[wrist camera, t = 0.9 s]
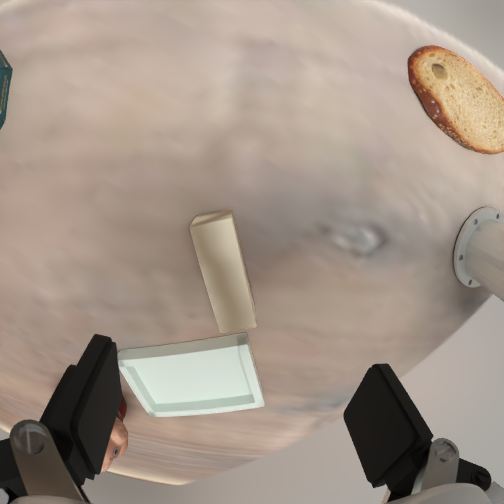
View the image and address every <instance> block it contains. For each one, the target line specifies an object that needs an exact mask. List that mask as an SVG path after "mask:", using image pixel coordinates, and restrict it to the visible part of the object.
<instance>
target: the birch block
mask: <svg viewBox="0 0 504 504" xmlns="http://www.w3.org/2000/svg"><path fill="white" fill-rule="evenodd" d="M189 229H190V233H191V236H192V240H193V244H194V247H195V251H196V254H197V258H198V261H199V265H200V268H201V272H202V275H203V279H204V282H205V285H206V289H207V292H208V295H209V299H210V302H211V305H212V308H213V311H214V315H215V318H216V321H217V324H218V327H219V330H220V333H227V332H232V331H238V330H244V329H249V328H254V327H257V322H256V313H255V304H254V300H253V295H252V291H251V287H250V282H249V278H248V274H247V269H246V265H245V261H244V256H243V252H242V247H241V243H240V239H239V234H238V230H237V225H236V221H235V217H234V212H233V208H229V209H224V210H220V211H215V212H211V213H206V214H202V215H197V216H196V217H195V219H194V220H193V222H192V224H191V225H190V227H189Z"/></svg>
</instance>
